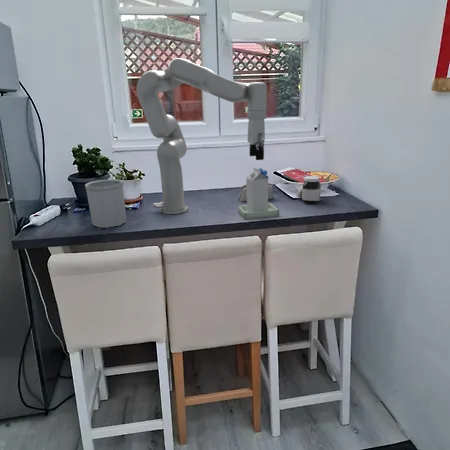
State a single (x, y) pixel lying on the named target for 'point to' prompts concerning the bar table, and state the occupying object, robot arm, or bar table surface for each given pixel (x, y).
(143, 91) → the robot arm
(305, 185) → the spread jar
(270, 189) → the grey piece
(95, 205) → the utensil holder
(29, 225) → the bar table surface
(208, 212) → the bar table surface
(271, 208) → the tray
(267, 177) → the grapes
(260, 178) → the milk carton
